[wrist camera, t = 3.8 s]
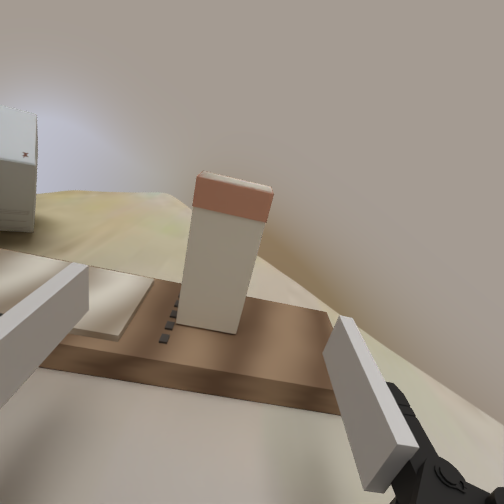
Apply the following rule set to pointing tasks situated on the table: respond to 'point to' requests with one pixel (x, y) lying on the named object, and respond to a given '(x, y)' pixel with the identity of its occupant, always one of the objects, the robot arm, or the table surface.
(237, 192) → the stub
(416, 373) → the table surface
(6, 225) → the supplement box
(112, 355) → the board
